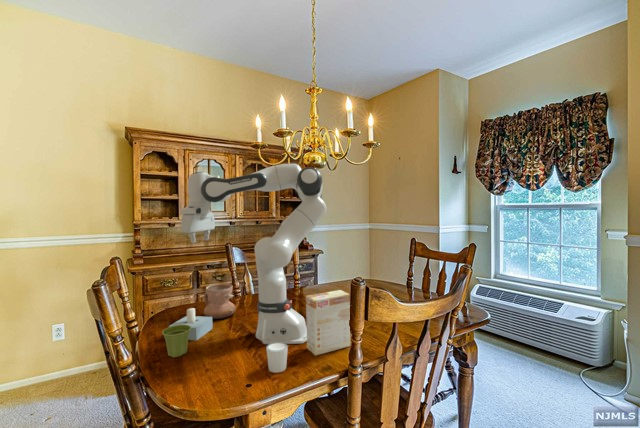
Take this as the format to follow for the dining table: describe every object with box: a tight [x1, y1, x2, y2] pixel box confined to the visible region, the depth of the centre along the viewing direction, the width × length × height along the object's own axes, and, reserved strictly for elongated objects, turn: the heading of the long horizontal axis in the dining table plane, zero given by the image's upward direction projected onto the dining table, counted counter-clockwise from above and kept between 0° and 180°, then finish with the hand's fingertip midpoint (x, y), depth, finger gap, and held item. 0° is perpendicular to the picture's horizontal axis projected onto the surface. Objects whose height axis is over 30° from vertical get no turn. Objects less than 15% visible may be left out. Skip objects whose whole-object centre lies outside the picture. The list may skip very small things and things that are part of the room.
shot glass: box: [266, 342, 289, 374], centre depth 101 cm, size 7×7×7 cm
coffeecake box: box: [305, 289, 352, 356], centre depth 115 cm, size 15×7×20 cm, turn 118°
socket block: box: [168, 315, 214, 341], centre depth 129 cm, size 12×12×5 cm
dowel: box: [186, 307, 196, 324], centre depth 129 cm, size 3×3×10 cm
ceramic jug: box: [203, 283, 237, 320], centre depth 150 cm, size 18×14×14 cm
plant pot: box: [161, 325, 191, 358], centre depth 112 cm, size 9×9×9 cm
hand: (200, 241), depth 136 cm, fingers open, 8 cm apart
